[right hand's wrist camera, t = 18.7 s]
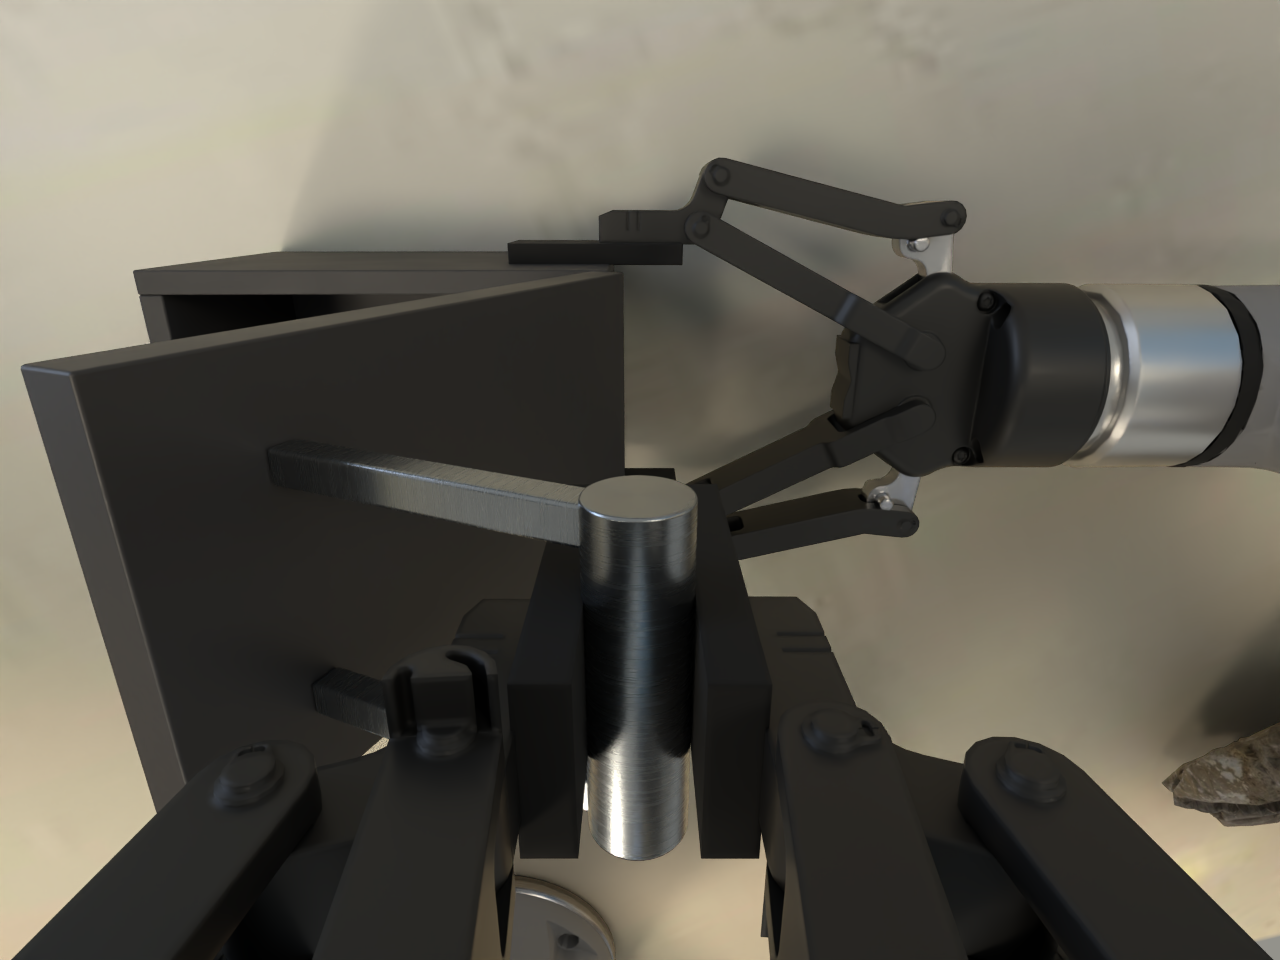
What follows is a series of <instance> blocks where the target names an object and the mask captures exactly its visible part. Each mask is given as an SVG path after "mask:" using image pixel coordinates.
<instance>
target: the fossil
mask: <svg viewBox="0 0 1280 960" xmlns="http://www.w3.org/2000/svg"><path fill="white" fill-rule="evenodd" d="M1162 784H1163V785H1164V786H1165V787H1166V788H1168V789H1169V790H1170V791H1171V792H1173V797H1174V805H1176V806H1180V807H1183V808H1187V809H1196V810H1198V811H1201V812H1206V813H1210V814H1211V815H1213V816H1214V817H1215V818H1217V819H1218V820H1219V821H1220V822H1221V823H1222V824H1223V825H1224V826H1227V827H1229V826H1254V825H1262V824H1270V823H1277V822H1279V821H1280V722H1279V723H1277V724H1275V725H1272V726H1270V727H1268V728H1266V729H1264V730H1262V731H1259V732H1257V733H1255V734H1253V735H1251V736H1249V737H1244V738H1240V739H1239V740H1238V742H1233V743H1231V744H1230V745H1228V746H1226V747H1225V748H1217V749H1214V750H1212V751H1210V752H1209V753H1208V754H1206V755H1205V756H1203V757H1200V758H1198V759H1195V760H1193V761H1191V762H1188V763H1185V764H1183V765H1182V766H1180V767H1179V768H1178V769H1177V770H1176V771H1175V772H1173V773H1172V774H1171V775H1170V776H1169V777H1168V778H1167V779H1166V780H1164V781H1163V782H1162Z"/></svg>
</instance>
